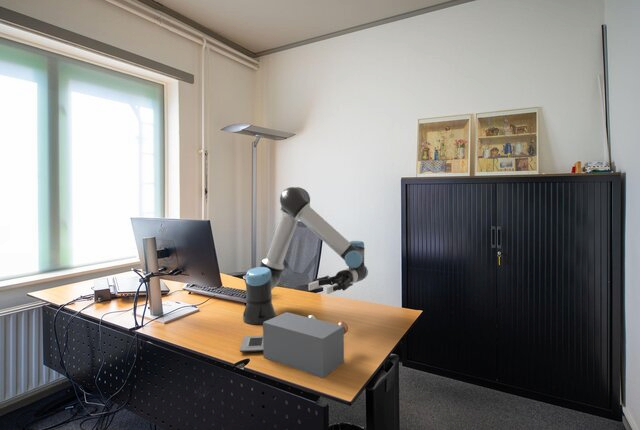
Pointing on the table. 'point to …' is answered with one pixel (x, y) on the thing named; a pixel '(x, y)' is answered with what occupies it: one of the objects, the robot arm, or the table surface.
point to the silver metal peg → (312, 317)
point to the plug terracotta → (344, 326)
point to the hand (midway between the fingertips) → (318, 288)
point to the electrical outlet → (252, 344)
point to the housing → (304, 343)
